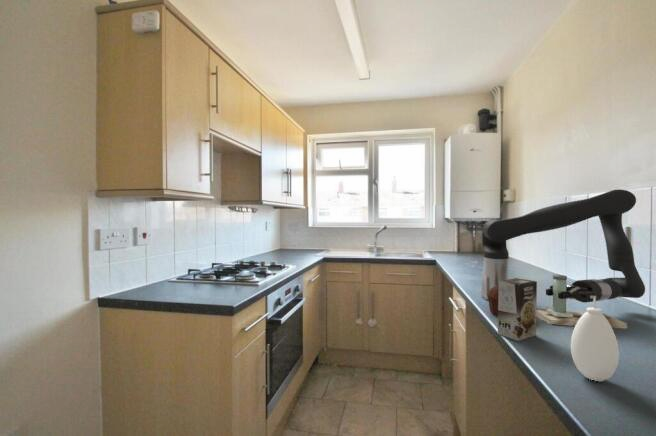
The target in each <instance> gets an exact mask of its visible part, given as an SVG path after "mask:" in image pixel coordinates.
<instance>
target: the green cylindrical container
mask: <svg viewBox="0 0 656 436" xmlns="http://www.w3.org/2000/svg"><path fill="white" fill-rule="evenodd" d="M567 278H568V276H567V275H564V274H558V273H557V274H555V273H554V274H552V285H553V295H552V308H550V307H549V308H546V311H547V312H549V313H551V314H552V315H554V316H557V317H573V314H571V313H570V312H571V311H568V310H567V299H559V298H558V293H559V292H564V291H566V286H567Z"/></svg>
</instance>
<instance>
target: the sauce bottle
mask: <svg viewBox="0 0 656 436" xmlns="http://www.w3.org/2000/svg"><path fill="white" fill-rule="evenodd" d="M585 310H586V311H585V312H586V313H584V314H583V315H582V316H581V317H580V319H579V320H578V322H577V324H576V326H574V329H573V331H572V335H571V339H570V353H571V357H572V360H573V363H574V365H575V367H576V369H577V371H579V372H580V373H581V374H582V376H584V377H585V378H587V379H588V378H589V380H590V379H591V380H590V381H592V380H595V381H594V382H596V381H598V382H603V381H605V380H609V379H610V378H611V377H612V376H613V375H614V374H615V372H616V370H617V368H618V365H619V361H620V359H619V358H620V357H619V356H620V355H619V353H620V351H619V344H618V341H617V338H616V335H615V332H614V328H612V327H611V325H610V323H609V322H608V320H607V319H606V318H605V316H604V315H603V314H602V313H604V312H603V310H602V309H601V308H598V307H597V301H596V299H595V297H594V300H593V302H592V307H587V308H586V309H585Z"/></svg>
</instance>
